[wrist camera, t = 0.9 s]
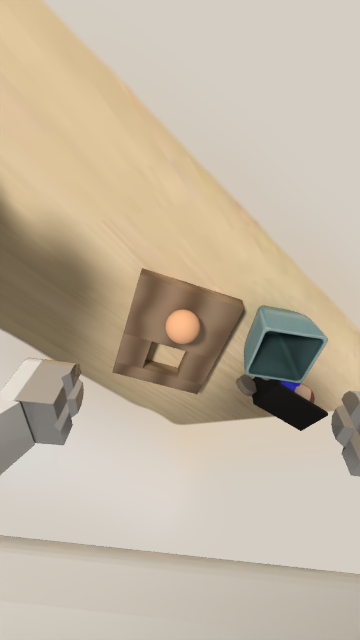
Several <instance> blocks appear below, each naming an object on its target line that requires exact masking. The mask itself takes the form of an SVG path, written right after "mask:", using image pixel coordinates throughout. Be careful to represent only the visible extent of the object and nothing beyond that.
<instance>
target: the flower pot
mask: <svg viewBox="0 0 360 640" xmlns="http://www.w3.org/2000/svg"><path fill="white" fill-rule="evenodd" d="M327 341H328V338H327V337H326V336H325V335H324V334H323V333H322V331H321V330H320V329H319V328H318V327H317V326H316V325H315V324H314V323H313V322H312V321H311V320H310V319H309V318H308V317H306V316H305V315H302V314H300V313H297V312H294V311H290V310H285V309H279V308H273V307H268V306H260V307H259V309H258V311H257V314H256V316H255V319H254V321H253V324H252V326H251V329H250V331H249V334H248V336H247V339H246V342H245V347H244V365H245V374H246V375H249V376H255V377H262V378H269V379H276V380H283V381H289V382H294V383H301V382H303V380H304V379H305V377H306V376H307V374H308V372H309V371H310V369H311V367H312V366H313V364H314V362H315V361H316V359H317V357H318V356H319V354H320V353H321V351H322V350H323V348H324V346H325V345H326V343H327Z"/></svg>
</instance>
